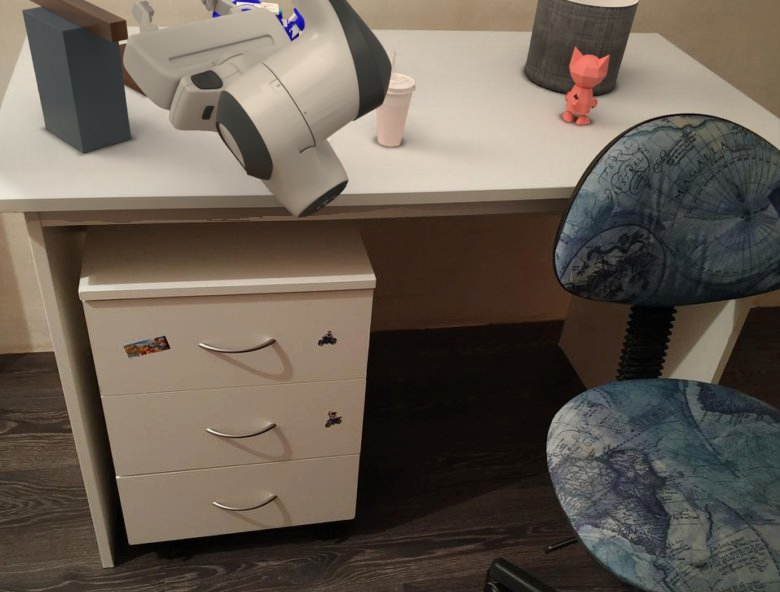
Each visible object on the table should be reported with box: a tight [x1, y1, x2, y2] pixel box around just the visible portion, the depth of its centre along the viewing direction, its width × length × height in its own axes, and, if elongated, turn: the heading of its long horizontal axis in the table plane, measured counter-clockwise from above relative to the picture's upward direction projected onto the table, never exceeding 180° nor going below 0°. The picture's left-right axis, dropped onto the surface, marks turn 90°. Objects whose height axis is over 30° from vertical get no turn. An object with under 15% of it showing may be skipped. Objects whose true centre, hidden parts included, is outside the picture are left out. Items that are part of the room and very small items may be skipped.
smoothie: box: [375, 49, 416, 148], centre depth 122 cm, size 6×6×14 cm
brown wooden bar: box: [29, 0, 129, 43], centre depth 107 cm, size 2×20×2 cm, turn 48°
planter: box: [523, 0, 640, 96], centre depth 151 cm, size 18×18×16 cm
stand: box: [21, 6, 132, 154], centre depth 114 cm, size 8×10×17 cm
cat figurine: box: [561, 46, 610, 126], centre depth 136 cm, size 7×7×12 cm
